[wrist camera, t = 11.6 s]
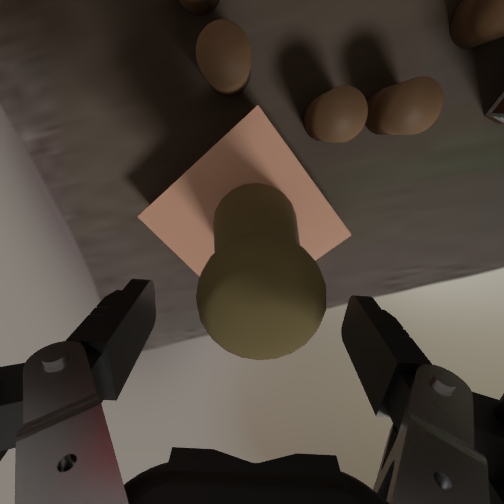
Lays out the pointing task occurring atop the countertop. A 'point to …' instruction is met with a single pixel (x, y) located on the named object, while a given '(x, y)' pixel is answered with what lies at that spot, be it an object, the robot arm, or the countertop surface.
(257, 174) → the tile
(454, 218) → the countertop surface
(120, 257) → the countertop surface
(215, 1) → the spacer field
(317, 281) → the cork
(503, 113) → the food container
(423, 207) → the countertop surface
